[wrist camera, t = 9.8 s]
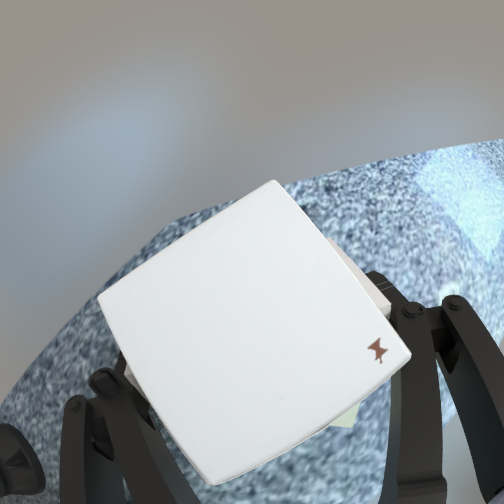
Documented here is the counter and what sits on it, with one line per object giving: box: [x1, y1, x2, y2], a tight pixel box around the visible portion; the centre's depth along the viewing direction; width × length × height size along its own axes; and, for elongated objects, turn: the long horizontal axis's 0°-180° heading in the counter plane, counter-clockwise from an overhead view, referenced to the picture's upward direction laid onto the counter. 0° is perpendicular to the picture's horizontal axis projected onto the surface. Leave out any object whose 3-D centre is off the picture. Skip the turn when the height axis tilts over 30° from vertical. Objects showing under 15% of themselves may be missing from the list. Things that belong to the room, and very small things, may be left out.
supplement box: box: [97, 180, 411, 486], centre depth 13 cm, size 7×7×13 cm
